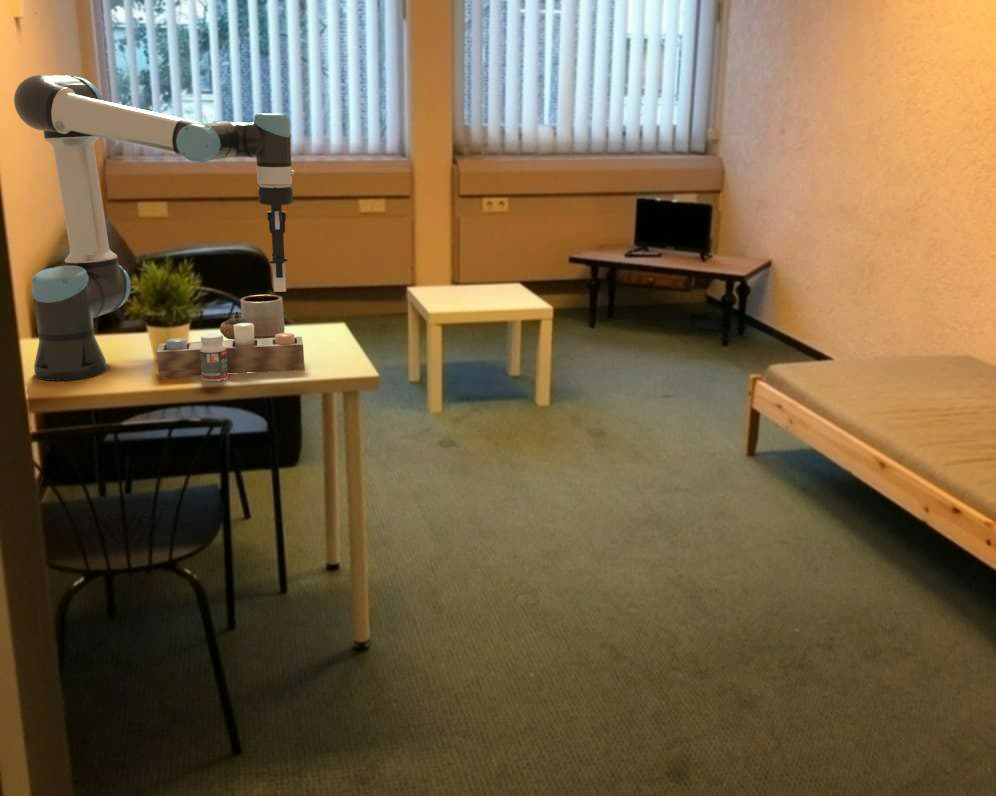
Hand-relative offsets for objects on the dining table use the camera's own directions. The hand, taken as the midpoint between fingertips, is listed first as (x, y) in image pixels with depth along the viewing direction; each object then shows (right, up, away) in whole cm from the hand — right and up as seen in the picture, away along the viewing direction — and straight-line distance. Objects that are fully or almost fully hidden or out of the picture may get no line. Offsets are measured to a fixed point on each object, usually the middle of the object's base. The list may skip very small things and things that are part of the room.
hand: (280, 290), depth 230 cm
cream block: (-8, -13, +2) cm, 16 cm away
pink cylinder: (0, -15, +4) cm, 16 cm away
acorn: (-14, -13, +19) cm, 27 cm away
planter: (-12, -8, +37) cm, 40 cm away
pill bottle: (-13, -20, -5) cm, 25 cm away
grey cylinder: (-23, -17, -1) cm, 28 cm away
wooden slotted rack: (-11, -18, +3) cm, 21 cm away
